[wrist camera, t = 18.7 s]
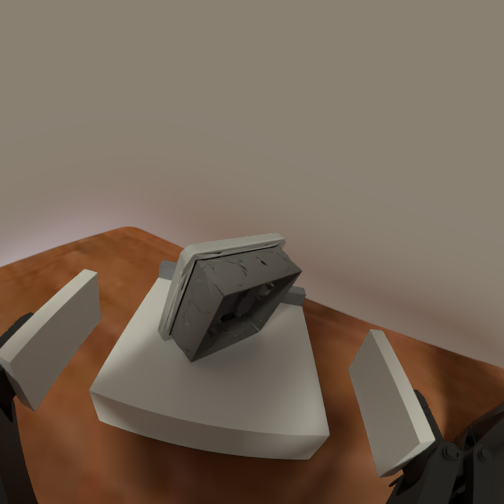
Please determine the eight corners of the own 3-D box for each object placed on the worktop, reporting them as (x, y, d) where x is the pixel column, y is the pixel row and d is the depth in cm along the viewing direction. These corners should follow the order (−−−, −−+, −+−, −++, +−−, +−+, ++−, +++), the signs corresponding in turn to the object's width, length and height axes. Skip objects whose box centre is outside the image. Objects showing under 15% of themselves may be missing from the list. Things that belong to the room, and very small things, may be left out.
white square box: (290, 326, 33) (303, 288, 31) (308, 459, 16) (339, 423, 14) (160, 300, 32) (163, 259, 30) (99, 420, 16) (84, 376, 13)
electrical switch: (238, 308, 28) (266, 222, 24) (275, 340, 25) (314, 252, 21) (155, 337, 21) (167, 232, 17) (191, 384, 18) (216, 278, 14)
